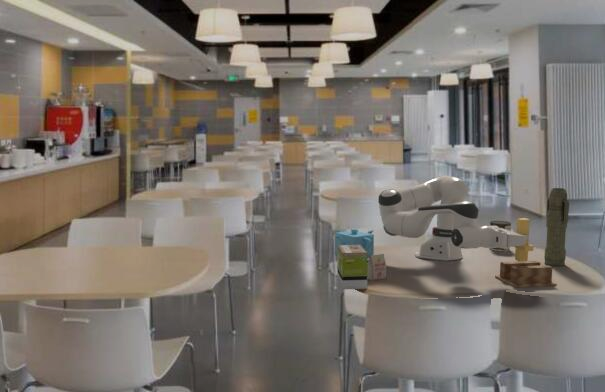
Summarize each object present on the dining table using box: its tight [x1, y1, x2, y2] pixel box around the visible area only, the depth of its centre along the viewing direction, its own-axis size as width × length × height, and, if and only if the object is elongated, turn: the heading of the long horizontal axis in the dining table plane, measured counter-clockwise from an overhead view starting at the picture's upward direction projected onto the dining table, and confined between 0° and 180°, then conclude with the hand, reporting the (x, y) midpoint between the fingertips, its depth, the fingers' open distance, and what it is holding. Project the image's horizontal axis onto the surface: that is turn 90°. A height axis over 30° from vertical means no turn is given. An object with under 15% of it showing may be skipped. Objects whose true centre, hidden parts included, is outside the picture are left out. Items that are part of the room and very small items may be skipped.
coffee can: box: [488, 220, 512, 252], centre depth 312 cm, size 10×10×14 cm
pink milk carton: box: [367, 253, 387, 281], centre depth 251 cm, size 4×7×10 cm, turn 117°
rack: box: [494, 260, 558, 288], centre depth 248 cm, size 18×16×7 cm
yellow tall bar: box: [514, 217, 534, 262], centre depth 245 cm, size 4×11×17 cm, turn 10°
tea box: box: [336, 245, 368, 290], centre depth 241 cm, size 15×10×15 cm, turn 5°
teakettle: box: [333, 228, 375, 259], centre depth 285 cm, size 19×19×15 cm
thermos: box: [543, 187, 570, 267], centre depth 277 cm, size 9×12×35 cm
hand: (524, 235), depth 245 cm, fingers closed on yellow tall bar, 3 cm apart
